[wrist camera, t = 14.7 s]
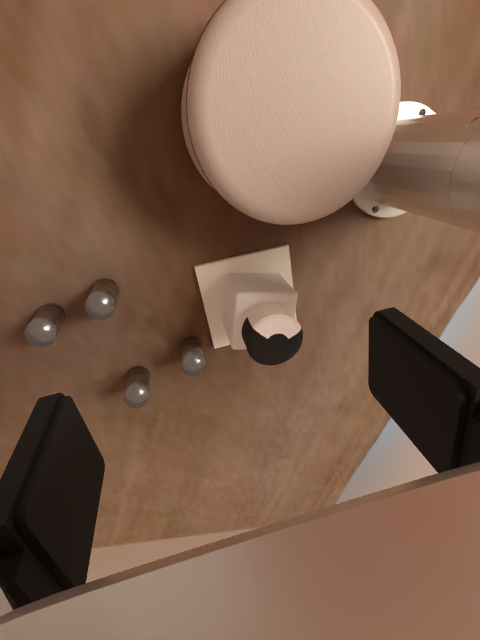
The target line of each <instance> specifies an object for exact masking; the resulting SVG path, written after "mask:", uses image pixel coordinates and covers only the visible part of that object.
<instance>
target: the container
mask: <svg viewBox="0 0 480 640" xmlns="http://www.w3.org/2000/svg"><path fill="white" fill-rule="evenodd" d="M400 93H401V82H400V69H399V61H398V57H397V52H396V48H395V45H394V42H393V39H392V36H391V33H390V31H389V28H388V26H387V24H386V22H385V20H384V18H383V17H382V15H381V13H380V11H379V10H378V8H377V7H376V6H375V4H374V3H373V2H372V0H224V2H223V3H222V4H221V5H220V6H219V7H218V8H217V10H216V11H215V13H214V14H213V16H212V17H211V18H210V20H209V21H208V23H207V25H206V27H205V29H204V30H203V32H202V34H201V36H200V39H199V41H198V43H197V46H196V48H195V51H194V55H193V58H192V61H191V64H190V67H189V69H188V72H187V75H186V79H185V82H184V87H183V93H182V102H181V120H182V129H183V134H184V139H185V142H186V146H187V149H188V152H189V154H190V156H191V159H192V161H193V163H194V164H195V166H196V168H197V170H198V171H199V173H200V174H201V176H202V177H203V178H204V179H205V181H206V182H207V183H208V184H209V185H210V186H211V187H212V188H213V189H214V190H215V191H216V192H217V193H218V194H219V195H220V196H221V197H222V198H223V199H224V200H225V201H226V202H227V203H228V204H230V205H231V206H232V207H233V208H235V209H236V210H238V211H239V212H241V213H243V214H244V215H246V216H248V217H250V218H253V219H255V220H258V221H261V222H265V223H269V224H276V225H296V224H302V223H307V222H311V221H314V220H317V219H320V218H323V217H325V216H327V215H329V214H331V213H333V212H335V211H336V210H338V209H340V208H341V207H343V206H344V205H345V204H347V203H348V202H349V201H351V200H352V199H353V198H354V197H355V196H356V195H357V194H358V193H359V192H360V191H361V190H362V189H363V188H364V187H365V186H366V185H367V183H368V182H369V181H370V179H371V178H372V177H373V175H374V174H375V172H376V171H377V169H378V168H379V166H380V164H381V162H382V160H383V158H384V156H385V155H386V153H387V150H388V148H389V145H390V143H391V140H392V137H393V134H394V131H395V127H396V123H397V118H398V113H399V106H400Z"/></svg>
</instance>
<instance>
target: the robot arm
mask: <svg viewBox="0 0 480 640" xmlns="http://www.w3.org/2000/svg"><path fill="white" fill-rule="evenodd" d="M352 201H353V203H354V204H355V205H356V206H357V207H358V208H359V209H360V210H362V211H363V212H365V213H367V214H369V215H372V216H375V217H380V218H391V217H396V216H400V215H402V214H404V213H407V212H410V213H413V214H417V215H420V216H423V217H427V218H430V219H434V220H437V221H441V222H444V223H448V224H451V225H455V226H458V227H462V228H465V229H469V230H472V231H476V232H480V110H472V111H462V112H451V113H441V114H435V112H434V111H433V110H431V109H430V108H429V107H428V106H426V105H424V104H422V103H420V102H415V101H400V106H399V113H398V118H397V123H396V127H395V131H394V134H393V137H392V140H391V143H390V145H389V148H388V150H387V153H386V155H385V156H384V158H383V160H382V162H381V164H380V166H379V168H378V169H377V171H376V172H375V174H374V175H373V177H372V178H371V179H370V181H369V182H368V183H367V185H366V186H365V187H364V188H363V189H362V190H361V191H360V192H359V193H358V194H357V195H356V196H355V197H354V198H353V199H352ZM372 208H373V209H372ZM368 383H369V388H370V391H371V393H372V394H373V396H374V397H375V398H376V399H377V401H378V402H379V403H380V404H381V405H382V407H383V408H384V409H385V410H386V411H387V413H388V414H389V415H390V416H391V417H392V419H393V420H394V421H395V422H396V423H397V424H398V425H399V427H400V428H401V429H402V430H403V432H404V433H405V434H406V435H407V436H408V438H409V439H410V440H411V441H412V442H413V444H414V445H415V446H416V447H417V448H418V449H419V451H420V452H421V453H422V454H423V456H424V457H425V458H426V459H427V460H428V461H429V463H430V464H431V465H432V466H433V467H434V469H435V470H436V471H437V472H438V474H434V475H431V476H427V477H424V478H421V479H418V480H414V481H411V482H408V483H405V484H402V485H398V486H395V487H392V488H388V489H385V490H381V491H378V492H375V493H372V494H368V495H365V496H362V497H359V498H355V499H352V500H349V501H346V502H342V503H339V504H335V505H332V506H329V507H326V508H322V509H319V510H316V511H313V512H310V513H306V514H303V515H300V516H297V517H293V518H290V519H287V520H284V521H280V522H277V523H274V524H271V525H268V526H264V527H261V528H258V529H255V530H252V531H249V532H245V533H242V534H239V535H235V536H232V537H229V538H226V539H223V540H219V541H216V542H213V543H210V544H207V545H204V546H200V547H197V548H194V549H191V550H188V551H185V552H182V553H179V554H176V555H172V556H169V557H166V558H163V559H159V560H156V561H153V562H150V563H147V564H144V565H141V566H137V567H134V568H131V569H128V570H125V571H122V572H119V573H116V574H113V575H110V576H107V577H104V578H101V579H98V580H95V581H92V582H89V583H86V578H87V572H88V566H89V560H90V554H91V548H92V542H93V536H94V530H95V524H96V518H97V512H98V506H99V500H100V494H101V489H102V483H103V477H104V470H105V464H104V459H103V457H102V455H101V453H100V451H99V449H98V447H97V445H96V443H95V442H94V440H93V438H92V436H91V434H90V432H89V430H88V428H87V426H86V424H85V422H84V420H83V418H82V417H81V415H80V413H79V411H78V409H77V407H76V405H75V403H74V401H73V399H72V398H71V397H70V396H64V395H63V394H62V393H57V394H53V395H49V396H45V397H42V398H39V399H38V401H37V403H36V405H35V407H34V409H33V411H32V413H31V416H30V418H29V420H28V422H27V424H26V426H25V428H24V431H23V433H22V435H21V437H20V439H19V441H18V443H17V445H16V448H15V450H14V452H13V454H12V456H11V458H10V460H9V462H8V465H7V467H6V469H5V471H4V473H3V475H2V477H1V479H0V640H480V368H479V367H477V366H476V365H475V364H473V363H472V362H470V361H469V360H468V359H466V358H465V357H463V356H462V355H461V354H459V353H458V352H456V351H455V350H454V349H452V348H451V347H449V346H448V345H447V344H445V343H444V342H442V341H441V340H440V339H438V338H437V337H435V336H434V335H432V334H431V333H430V332H428V331H427V330H425V329H424V328H423V327H421V326H420V325H418V324H417V323H416V322H414V321H413V320H411V319H410V318H409V317H407V316H406V315H404V314H403V313H402V312H400V311H399V310H397V309H396V308H394V307H393V308H388V309H384V310H380V311H376V312H375V313H374V315H373V317H371V318H370V320H369V379H368Z"/></svg>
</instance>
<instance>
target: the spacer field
mask: <svg viewBox="0 0 480 640" xmlns="http://www.w3.org/2000/svg"><path fill="white" fill-rule="evenodd" d="M118 294H119V288H118V286H117V284H116V283H115V282H114V281H112V280H110V279H100V280H98V281H96V282H95V283H94V285H93V287H92V289H91V291H90V294H89V296H88V298H87V300H86V302H85V310H86V312H87V314H88V315H89V316H90V317H92V318H94V319H97V320H105V319H107V318H109V317H110V316H111V315H112V314H113V312H114V309H115V305H116V301H117V298H118ZM65 317H66V316H65V312H64V310H63V309H62V308H61V307H59V306H58V305H55V304H45V305H43V306H42V307H41V308H40V309H39V310H38V312H37V313H36V314H35V316H34V317H33V319H32V320H31V321H30V323H29V324H28V326H27V327H26V329H25V331H24V336H25V339H26V340H27V341H28V342H29V343H30V344H32V345H34V346H37V347H46V346H48V345H50V344H52V343H53V341H54V339H55V337H56V336H57V334H58V332H59V330H60V328H61V326H62V324H63V322H64V321H65ZM180 351H181V362H182V370H183V372H184V373H185V374H186V375H188V376H198V375H200V374H202V373H203V372H204V371H205V369H206V361H205V356H204V351H203V347H202V342H201V341H200V339H198V338H197V337H193V336H191V337H187V338H185V339H183V340H182V342H181V344H180ZM149 383H150V373H149V371H148V370H147V369H146V368H144V367H141V366H136V367H133V368H131V369H130V370H129V371H128V374H127V381H126V388H125V395H124V401H125V403H126V404H127V405H128V406H130V407H132V408H140V407H143V406H144V405H146V404H147V402H148V400H149Z"/></svg>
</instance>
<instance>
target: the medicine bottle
mask: <svg viewBox="0 0 480 640" xmlns="http://www.w3.org/2000/svg"><path fill="white" fill-rule="evenodd" d="M297 297H298V295H297V293H296V292H295V290H294V289H293V288H292V287H291V286H290V285H289V284H288V283H287V282H286V280H285V279H284V278H283V277H282V276H281V275H280V274H279V273H227V274H226V277H225V293H224V309H223V324H224V327H225V330H226V333H227V336H228V339H229V342H230V345H231V348H232V349H234V350H236V349H247V351H248V353H249V355H250V356H251V357H252V358H253V359H254V360H255V361H256V362H258V363H260V364H264V365H277V364H280V363H283V362H285V361H287V360H289V359H290V358H292V357H293V356H294V355H295V354H296V352H297V351H298V350H299V348H300V346H301V343H302V340H303V332H302V328H301V326H300V324H299V323H298V322H297V320H296V319H295V318H294V315H295V309H296V303H297Z"/></svg>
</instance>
